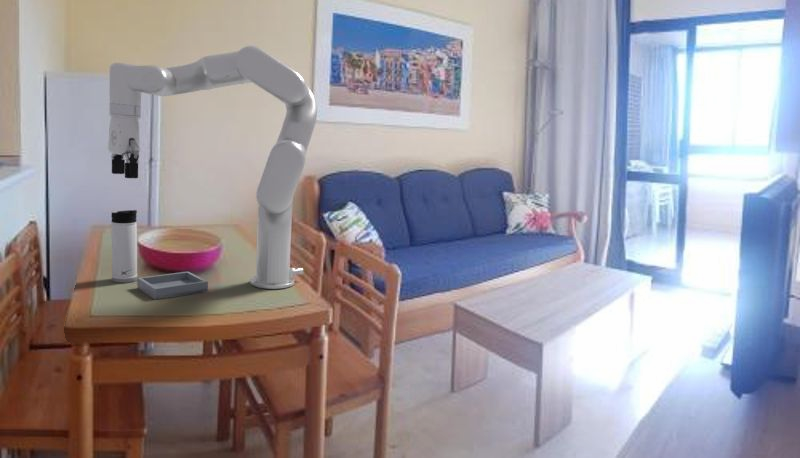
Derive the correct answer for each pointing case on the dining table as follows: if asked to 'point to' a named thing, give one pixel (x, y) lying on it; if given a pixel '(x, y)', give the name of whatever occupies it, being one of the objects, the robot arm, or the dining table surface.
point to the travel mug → (124, 246)
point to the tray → (172, 285)
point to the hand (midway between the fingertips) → (124, 175)
